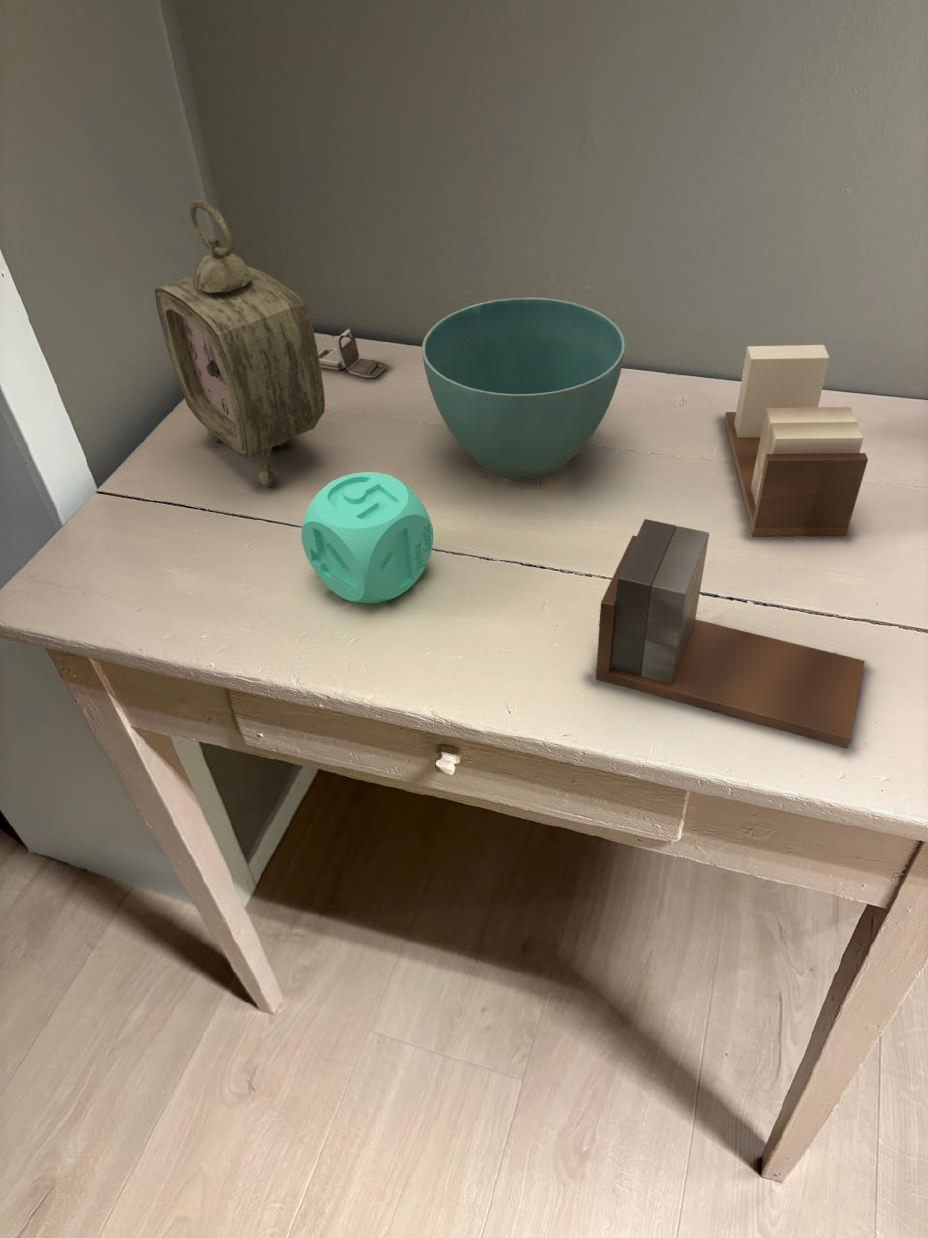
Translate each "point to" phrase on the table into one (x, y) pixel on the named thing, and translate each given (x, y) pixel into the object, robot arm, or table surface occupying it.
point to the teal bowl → (523, 380)
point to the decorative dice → (367, 537)
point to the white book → (778, 383)
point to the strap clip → (348, 358)
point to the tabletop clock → (241, 351)
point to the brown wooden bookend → (713, 646)
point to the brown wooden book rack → (800, 471)
